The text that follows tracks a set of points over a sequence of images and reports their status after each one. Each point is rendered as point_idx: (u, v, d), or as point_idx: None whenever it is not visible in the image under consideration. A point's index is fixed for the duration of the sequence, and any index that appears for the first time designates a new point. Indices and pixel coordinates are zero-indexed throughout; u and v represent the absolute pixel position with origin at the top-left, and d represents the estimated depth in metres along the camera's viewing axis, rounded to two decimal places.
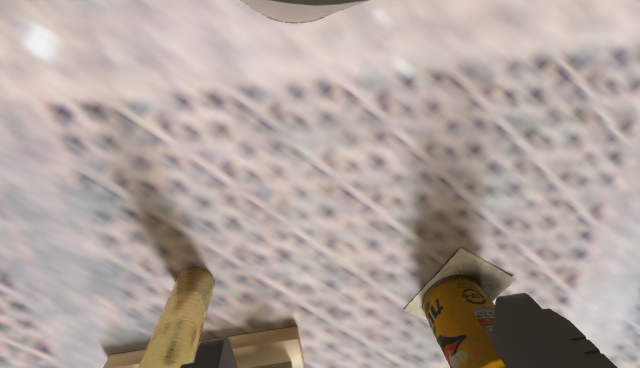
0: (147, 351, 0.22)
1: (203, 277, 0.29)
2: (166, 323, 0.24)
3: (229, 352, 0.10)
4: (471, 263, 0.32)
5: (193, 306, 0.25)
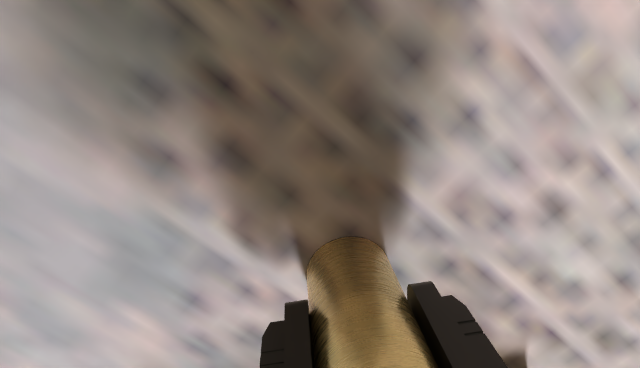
0: None
1: (382, 258, 0.12)
2: None
3: (309, 313, 0.11)
4: None
5: (415, 334, 0.09)
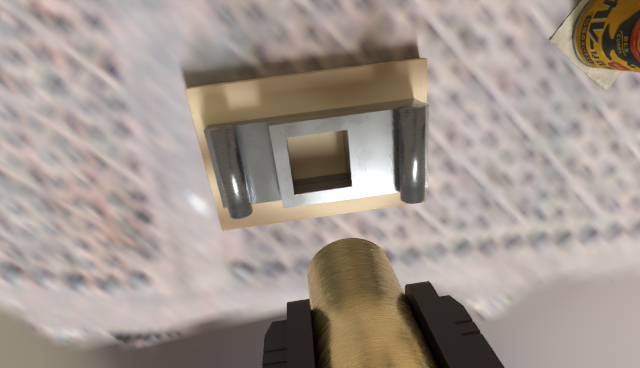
0: None
1: (383, 260, 0.12)
2: None
3: (311, 312, 0.11)
4: None
5: (416, 336, 0.09)
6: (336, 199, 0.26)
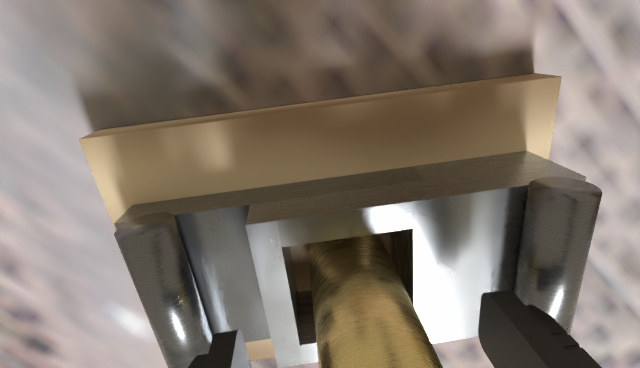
0: None
1: None
2: (368, 326, 0.09)
3: (242, 344, 0.10)
4: None
5: (397, 285, 0.11)
6: None
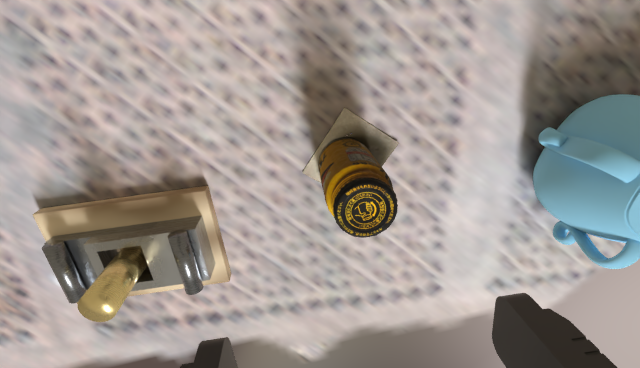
0: None
1: None
2: (105, 272, 0.32)
3: (229, 352, 0.10)
4: (356, 125, 0.36)
5: (129, 263, 0.34)
6: (143, 288, 0.37)
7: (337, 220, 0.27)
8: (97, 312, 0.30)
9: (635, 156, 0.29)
